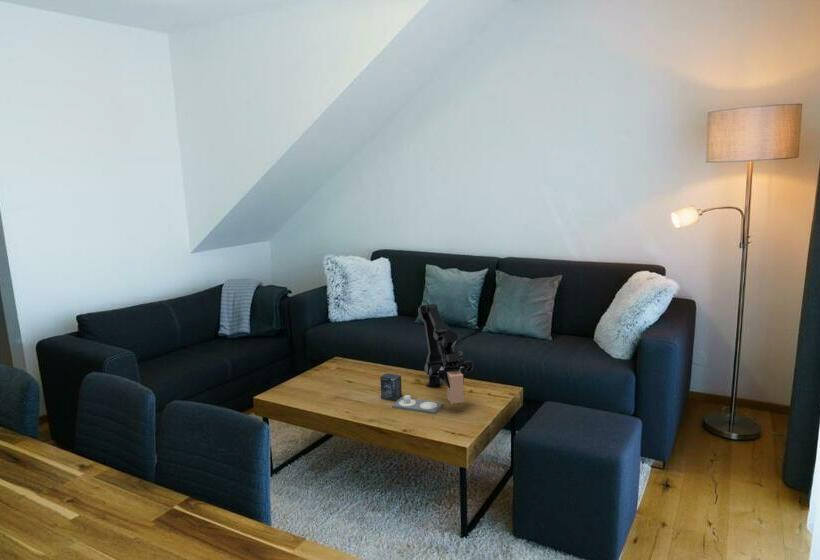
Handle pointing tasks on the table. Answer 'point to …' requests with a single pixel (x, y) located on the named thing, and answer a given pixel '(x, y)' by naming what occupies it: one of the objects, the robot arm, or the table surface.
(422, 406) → the plate
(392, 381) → the box
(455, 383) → the pink block
